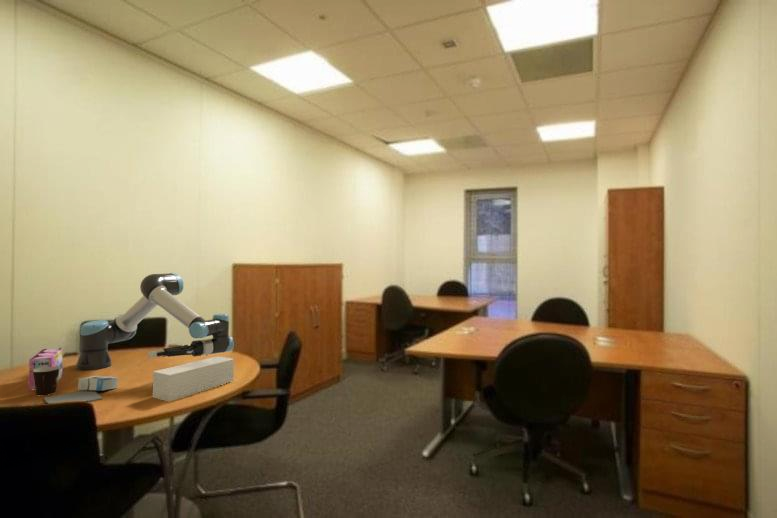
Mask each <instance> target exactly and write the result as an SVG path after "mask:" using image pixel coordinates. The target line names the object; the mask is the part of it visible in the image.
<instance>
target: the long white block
mask: <svg viewBox="0 0 777 518" xmlns="http://www.w3.org/2000/svg"><path fill="white" fill-rule="evenodd" d="M234 375H235V358H231V357H225V356H219V355H217V356H213V357H209V358H205V359H200V360H196V361H191V362H188V363H183V364H180V365H175V366H171V367H168V368H163V369H158V370H153V371H152V398H154V399H157V400H162V401H166V402H172V401H176V400H179V399H182V398H185V397H188V396H192V395H195V394H198V392H199V393H202V392H205V391H208V390H211V388H212V389H214V388H213V387H215V388H217V386H218V387H220V385H221V386H223V385H222V384H225V383H228V382H231V381H235V379H234ZM231 383H232V382H231ZM228 384H229V383H228ZM225 385H226V384H225ZM204 390H205V391H204ZM201 391H202V392H201Z"/></svg>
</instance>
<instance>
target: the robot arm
mask: <svg viewBox="0 0 777 518" xmlns="http://www.w3.org/2000/svg"><path fill="white" fill-rule="evenodd" d="M139 288H140V292H141V294H142V297H141V298H140V299H139V300H137V302H136V303H134V304H133V305H132V306H131V307H130V308H129V309H128V310H127V311H126V312H125V313H122V314H119V315H118V316H116V317H115V318H114V319H113V320H112V321H108V320H107V319H99V320H91V321H87V322H85V323H83V324H82V325H81V326H80V333H79V334H80V353H79V356H78V358H77V361H76V365H75V369H76V370H78V371H93V370H94V371H95V370H101V369H105V368H108V367H110V366H112V358H111V356H110V352H109V350H108V347H109V346H108V345H109V344H114V343H119V342H126V341H128V340H130V339H132V338H133V337H134V336H135V335H136V334H137V330H138V324H139V323H141V321H142V320H144V319H145V318H146V317H147V316H148V315H149V314H151V312H153V310H155V308H157V306H159V307H160V308H161V309H163V310H164V311H165V312H167V313H168V314H169V315H171V316H172V317H173V318H174V319H176V320H177V321H178V322H179V323H181V324H182V325H183V326H185V327H186V328H187V329H188V334H189V336H190V337H191V338H193V339H197V340H193V341H191V343H190V345H189V344H184V345H183V344H180V345H175V346H171V347H170V346H169V347H165V348H162V349H159V350H151V351H147V359H153V358H161V357H162V358H163V357H168V358H169V357H181V356H192V357H194V358H195V357H201V356H209V355H213V354H221V353H226V352H230V351H232V350H233V349H234V345H235V342H234V338H233V337H232V336H230V335H229V328H230V315H229V314H227V313H214V314H213V316H212V319H206V320H205V318H203V317H202V316H200V315H199V314H198V313H197V312H195V311H194V310H192V309H191V308H190V307H188V306H187V305H186V304H184V302H182V301H181V300H179V298H177V297H176V296H177V295H180V294H181V293H182V292H183V290H184V280H183V278H182V276H180V275H179V274H178V273H173V272H170V273H152V274H148V275H147V276H145V277H144V278H143V279H142V280H141V282H140V287H139ZM210 336H212V338H206V337H210ZM203 338H205V339H203Z"/></svg>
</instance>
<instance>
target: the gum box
mask: <svg viewBox="0 0 777 518" xmlns="http://www.w3.org/2000/svg"><path fill="white" fill-rule="evenodd" d="M28 360H29V361H28V364H29V365H28V368H29V369H28V391H29V390H32V389H35V382H34V375H33V370H35V369H39V368H44V367H59V375H58V381H60V379H61V378H62V377H63V376H62V375H64V374H63V372H64V371H63V369H64V368H63V366H64V365H63V364H64V363H63V362H64V361H63V347H59V348H58V349H57V348H56V349H54V348H53V349H47V348H42V349H41V350H40V351H39V352H38V353H36V354H35V355H33V356H32V357H30V358H29V359H28ZM32 391H33V390H32Z"/></svg>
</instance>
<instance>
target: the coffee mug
mask: <svg viewBox="0 0 777 518" xmlns="http://www.w3.org/2000/svg"><path fill="white" fill-rule="evenodd" d="M33 375H34V382H35V389H36V390H35V394H36V395H35V396H37V395H44V396H49V395H48V394H50V395H53V394H52V393H54V394H55V393H57V388H58V381H59V380H58V375H59V367H44V368H39V369H35V370H33Z"/></svg>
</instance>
